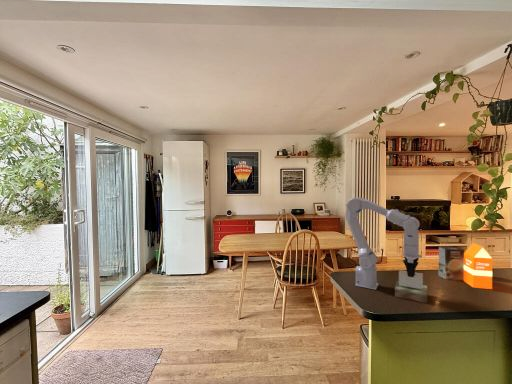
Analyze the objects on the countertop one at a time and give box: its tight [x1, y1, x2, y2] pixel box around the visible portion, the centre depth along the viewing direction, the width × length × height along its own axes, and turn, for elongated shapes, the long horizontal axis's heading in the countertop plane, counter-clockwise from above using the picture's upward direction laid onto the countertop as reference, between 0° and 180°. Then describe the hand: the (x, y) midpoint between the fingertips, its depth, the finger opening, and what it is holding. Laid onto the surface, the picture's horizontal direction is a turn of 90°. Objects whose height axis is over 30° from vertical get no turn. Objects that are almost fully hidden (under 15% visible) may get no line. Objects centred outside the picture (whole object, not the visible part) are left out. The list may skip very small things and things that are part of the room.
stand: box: [394, 280, 428, 304], centre depth 112 cm, size 12×10×4 cm
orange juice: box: [463, 242, 493, 290], centre depth 124 cm, size 8×9×20 cm
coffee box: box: [437, 246, 465, 281], centre depth 134 cm, size 9×6×16 cm
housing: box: [398, 269, 424, 289], centre depth 112 cm, size 9×5×6 cm, turn 56°
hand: (411, 274), depth 112 cm, fingers closed on housing, 5 cm apart
